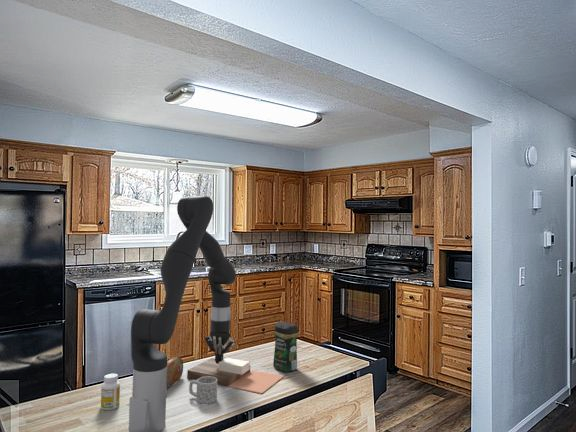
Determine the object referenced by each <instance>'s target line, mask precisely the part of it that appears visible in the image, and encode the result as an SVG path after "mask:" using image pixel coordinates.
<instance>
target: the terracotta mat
mask: <svg viewBox="0 0 576 432" xmlns="http://www.w3.org/2000/svg"><path fill="white" fill-rule="evenodd" d="M284 376H285V375H280V374H279V375H278V374H274V373H269V372H263V371H259V370H250V372H249V373H248V374H246V375H245V376H243V377H241V378H240V379H238V380H237V381H235V382H233V383H232V384H230V385H229V386H228V387H227V388H232V389H237V390H242V391H245V392H250V393H251V392H252V393H255V394H261V395H263V394H264V393H266V392H267V391H268V390H269V389H270V388H272V387H273V386H275V385H277V383H278V382H280V380H282V379H283V378H284Z"/></svg>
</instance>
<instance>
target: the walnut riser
mask: <svg viewBox="0 0 576 432" xmlns="http://www.w3.org/2000/svg"><path fill="white" fill-rule="evenodd" d="M218 368H219V364H216V362H215V357H214V358H213V357H211V358H209V359H207V360H204V361H203V362H201V363H198V364H197V365H194V366H193V367H191V368H189V369H187V371H186V376H187V377H186V379H190V380H197V379H199V378H201V377H206V376H210V377H215V378H217V386H223V387H226V388H229V387H228V386H229V385H230V384H232V383H233V382H235V381H237V380H238V379H240V378H241V377H243V376H245V375H246V374H248V373H249V372H251V369H250V370H248V371H247V372H245V373H244V374H242V375H241V374H235V373H230V372H225V371H219V370H218Z"/></svg>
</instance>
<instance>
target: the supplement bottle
mask: <svg viewBox="0 0 576 432" xmlns="http://www.w3.org/2000/svg"><path fill="white" fill-rule="evenodd" d="M118 379H119V374H117V373H109V374H106V375H104V376H103V383H102V384H101V385H100V386H101V390H100V392H101V393H100V408H101V409H102V410H104V411H110V410H115V409H117V408H119V407H120V397H121V396H120V395H121V394H120V393H121V392H120V391H121V382H120V381H118Z"/></svg>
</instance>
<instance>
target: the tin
mask: <svg viewBox="0 0 576 432" xmlns="http://www.w3.org/2000/svg"><path fill="white" fill-rule="evenodd" d="M183 373H184V362H183V358H182V357H180V356H178V357H177V356H176V357H175V356H174V357H171V358H170V359H169V360H168V359H167V386H166V389H170V388H172V387H173V386H174V385H175V384H176V383H177V382H179V381H180V380H181V378H182V376H183Z"/></svg>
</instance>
